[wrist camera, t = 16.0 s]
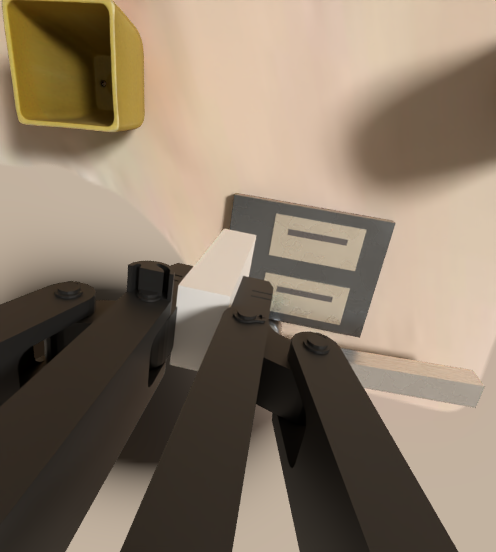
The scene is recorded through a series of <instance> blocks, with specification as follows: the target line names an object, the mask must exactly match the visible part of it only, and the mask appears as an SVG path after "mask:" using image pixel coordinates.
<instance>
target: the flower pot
mask: <svg viewBox="0 0 496 552" xmlns="http://www.w3.org/2000/svg"><path fill="white" fill-rule="evenodd" d="M2 10H3V19H4V28H5V35H6V41H7V49H8V57H9V63H10V69H11V77H12V85H13V92H14V101H15V107H16V112H17V116H18V120H19V122H20V123H21V124H25V125H35V126H49V127H62V128H74V129H84V130H93V131H103V132H119V131H126V130H132V129H136V128H138V127H140V126H141V125H142V123H143V121H144V113H145V110H144V54H143V44H142V40H141V37H140V35H139V32H138V31H137V29H136V27H135V26H134V25H133V24H132V22H131V21H130V20H129V19H128V18H127V16H126V15H125V14H124V13H123V12H122V11H121V10H120V8H119V7H118V6H117V5H116V4H115V3H114V2H113V0H2ZM101 81H105V82H106V86H105V87H103V86H102V85H101Z"/></svg>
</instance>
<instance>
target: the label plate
mask: <svg viewBox="0 0 496 552" xmlns="http://www.w3.org/2000/svg"><path fill="white" fill-rule="evenodd" d="M394 226H395V222H394V221H392V220H386V219H381V218H375V217H369V216H364V215H358V214H352V213H347V212H341V211H335V210H330V209H324V208H318V207H313V206H307V205H301V204H296V203H290V202H284V201H279V200H273V199H267V198H262V197H256V196H250V195H245V194H239V193H236V194H235V195H234V202H233V209H232V217H231V224H230V230H234V231H238V232H243V233H248V234H253V235H256V241H255V246H254V251H253V257H252V262H251V267H250V272H249V277H251V278H256V279H261V280H265V281H269V282H270V283H271V285H272V286H273V288H274V289H273V295H272V302H271V308H270V314H269V319H273V320H277V321H282V322H287V323H292V324H297V325H302V326H306V327H311V328H316V329H321V330H326V331H331V332H335V333H340V334H345V335H350V336H355V337H360V335H361V332H362V329H363V326H364V323H365V319H366V316H367V313H368V310H369V306H370V303H371V300H372V297H373V294H374V290H375V287H376V284H377V281H378V278H379V274H380V271H381V268H382V265H383V261H384V258H385V255H386V252H387V249H388V245H389V242H390V239H391V236H392V233H393V229H394Z"/></svg>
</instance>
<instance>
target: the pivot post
mask: <svg viewBox="0 0 496 552" xmlns="http://www.w3.org/2000/svg"><path fill="white" fill-rule="evenodd" d="M269 325H270V327H271V328H272V329H273V330H274V331H275V332H276V333H278V334H279V335H280V334H281V327H282V325H281V322H280V321H277V320H273V319H269Z"/></svg>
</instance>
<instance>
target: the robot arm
mask: <svg viewBox="0 0 496 552" xmlns="http://www.w3.org/2000/svg"><path fill="white" fill-rule="evenodd" d="M255 241H256V235H253V234H248V233H243V232H238V231H234V230H229V229H223V230H222V232H221V233H220V234H219V235H218V237H217V238H216V239H215V240H214V242H213V243H212V244H211V245H210V246H209V248H208V249H207V250H206V251H205V253H204V254H203V255H202V256H201V258H200V259H199V260H198V261H197V263H196V264H195V265H194V266H190V265H185V264H180V263H177V264H174V265H171V266H169V265H167V264H164V263H161V262H156V261H155V262H154V261H139V262H133V263H131V264H129V265H128V281H127V292H126V293H125V294H124V295H123V296H121V298H119V299H118V300H117V301H109V300H96V298H95V296H96V292H95V290H94V288H93V287H91V286H89V285H88V284H83V283H80V282H73V281H68V282H64V283H58V284H53V285H50V286H47V287H45V288H42V289H40V290H37V291H34V292H32V293H29V294H27V295H24V296H21V297H19V298H16V299H14V300H11V301H9V302H6V303H4V304H1V305H0V552H65V551H66V550H67V548H68V546H69V544H70V542H71V540H72V539H73V537H74V535H75V533H76V532H77V530H78V528H79V526H80V524H81V523H82V521H83V519H84V517H85V515H86V514H87V512H88V510H89V508H90V506H91V505H92V503H93V501H94V499H95V498H96V496H97V494H98V492H99V490H100V488H101V487H102V485H103V483H104V481H105V480H106V478H107V476H108V474H109V472H110V471H111V469H112V467H113V465H114V464H115V462H116V460H117V458H118V456H119V455H120V453H121V451H122V449H123V447H124V446H125V444H126V442H127V440H128V438H129V436H130V435H131V433H132V431H133V429H134V428H135V426H136V424H137V422H138V420H139V418H140V417H141V415H142V413H143V412H144V410H145V408H146V406H147V404H148V403H149V401H150V399H151V397H152V395H153V394H154V392H155V390H156V388H157V386H158V385H159V383H160V381H161V379H162V377H163V376H164V373H165V366H166V359H167V357H168V356H169V354H170V352H171V359H170V365H174V366H178V367H182V368H187V369H191V370H196V371H198V373H197V375H196V377H195V379H194V382H193V384H192V386H191V389H190V391H189V393H188V396H187V398H186V400H185V403H184V405H183V407H182V410H181V412H180V414H179V416H178V419H177V421H176V424H175V426H174V428H173V430H172V433H171V435H170V437H169V440H168V442H167V444H166V447H165V449H164V451H163V454H162V456H161V458H160V460H159V463H158V465H157V467H156V470H155V472H154V474H153V477H152V479H151V481H150V484H149V486H148V488H147V491H146V493H145V495H144V498H143V500H142V502H141V504H140V507H139V509H138V511H137V514H136V516H135V518H134V521H133V523H132V525H131V528H130V530H129V532H128V535H127V537H126V540H125V542H124V544H123V546H122V549H121V551H120V552H232V548H233V542H234V536H235V530H236V523H237V517H238V511H239V505H240V499H241V493H242V486H243V480H244V474H245V467H246V461H247V456H248V450H249V443H250V437H251V431H252V425H253V419H254V413H255V407H256V404H257V405H259V406H261V407H263V408H265V409H267V410H268V411H270V412H272V413H273V414H272V423H273V427H274V432H275V437H276V441H277V446H278V451H279V456H280V461H281V465H282V470H283V475H284V479H285V484H286V489H287V493H288V498H289V503H290V508H291V513H292V517H293V522H294V526H295V531H296V536H297V541H298V546H299V550H300V552H458V551H457V549H456V547H455V545H454V543H453V542H452V540H451V539H450V537H449V535H448V533H447V531H446V530H445V528H444V526H443V525H442V523H441V521H440V519H439V518H438V516H437V514H436V512H435V511H434V509H433V507H432V505H431V504H430V502H429V500H428V499H427V497H426V495H425V493H424V492H423V490H422V488H421V486H420V485H419V483H418V481H417V480H416V478H415V476H414V474H413V473H412V471H411V469H410V467H409V466H408V464H407V462H406V460H405V459H404V457H403V455H402V454H401V452H400V450H399V448H398V447H397V445H396V443H395V441H394V440H393V438H392V436H391V435H390V433H389V431H388V429H387V428H386V426H385V424H384V422H383V421H382V419H381V417H380V415H379V414H378V412H377V410H376V409H375V407H374V405H373V404H372V402H371V400H370V398H369V396H368V395H367V393H366V391H365V390H364V388H363V386H362V384H361V383H360V381H359V379H358V377H357V376H356V374H355V372H354V371H353V369H352V367H351V365H350V364H349V362H348V360H347V358H346V357H345V355H344V353H343V351H342V350H341V348H340V347H339V346H338V345H337V343H336V342H334V341H333V340H331V339H330V338H328V337H327V336H325V335H322V334H320V333H313V332H300V333H297V334H295V335H294V336H293V338H292V340H290V339H287V338H285V337H283V336H281V335H279V334H278V333H276V332H275V331H274V330H273V329H272V328H271V327H270V325H269V314H270V308H271V302H272V295H273V289H274V288H273V286H272V285H271V283H270V282H269V281H265V280H261V279H256V278H251V277H249V272H250V267H251V262H252V257H253V251H254V246H255ZM42 340H44V346H45V355H43V356H42V357H40V358H37V359H35V358H34V351H33V345H35V344H37V343H39V342H41V341H42Z"/></svg>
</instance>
